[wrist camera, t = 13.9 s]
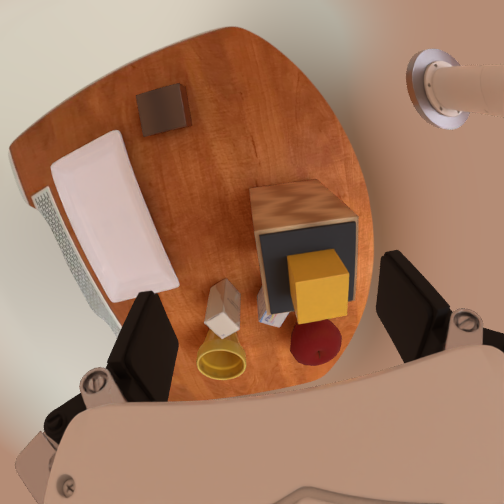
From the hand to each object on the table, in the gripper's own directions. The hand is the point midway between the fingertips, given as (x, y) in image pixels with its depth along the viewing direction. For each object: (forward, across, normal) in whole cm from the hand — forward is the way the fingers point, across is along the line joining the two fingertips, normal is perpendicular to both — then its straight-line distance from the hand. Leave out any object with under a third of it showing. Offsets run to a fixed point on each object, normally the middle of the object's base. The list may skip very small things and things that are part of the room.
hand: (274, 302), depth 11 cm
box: (+38, +9, +25) cm, 47 cm away
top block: (+19, -5, +11) cm, 22 cm away
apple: (+38, -8, +37) cm, 54 cm away
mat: (+19, -5, +11) cm, 23 cm away
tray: (+38, +26, +6) cm, 47 cm away
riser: (+38, -5, +11) cm, 40 cm away
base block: (+38, +12, -11) cm, 41 cm away
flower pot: (+38, +12, +37) cm, 54 cm away
